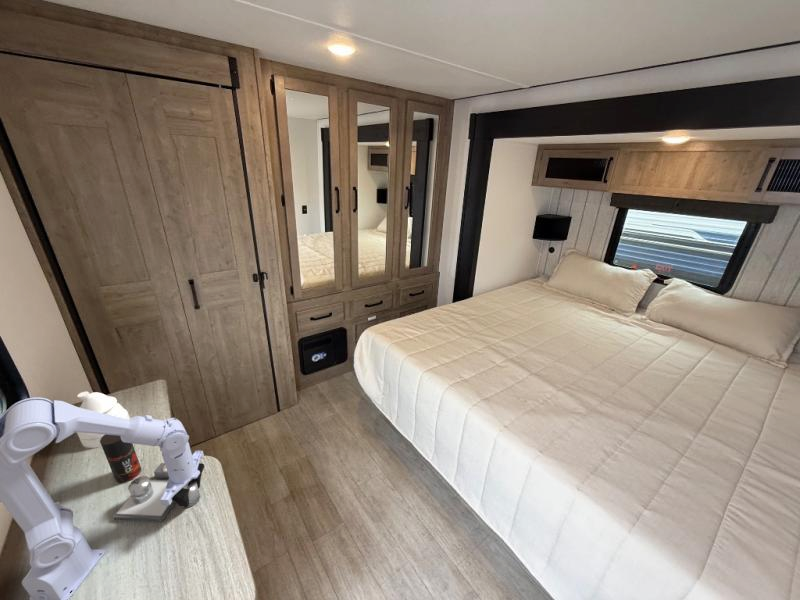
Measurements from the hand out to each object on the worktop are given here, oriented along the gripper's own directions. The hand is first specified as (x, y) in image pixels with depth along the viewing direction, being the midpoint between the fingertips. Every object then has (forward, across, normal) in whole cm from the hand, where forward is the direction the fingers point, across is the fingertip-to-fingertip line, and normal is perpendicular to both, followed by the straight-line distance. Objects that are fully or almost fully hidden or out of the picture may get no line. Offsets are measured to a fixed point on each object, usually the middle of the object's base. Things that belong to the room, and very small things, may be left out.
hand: (190, 496), depth 86 cm
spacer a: (0, 0, +12) cm, 12 cm away
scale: (+1, +1, +10) cm, 10 cm away
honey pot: (+2, +22, +42) cm, 47 cm away
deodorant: (+2, +7, +23) cm, 24 cm away
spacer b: (+1, 0, 0) cm, 1 cm away
